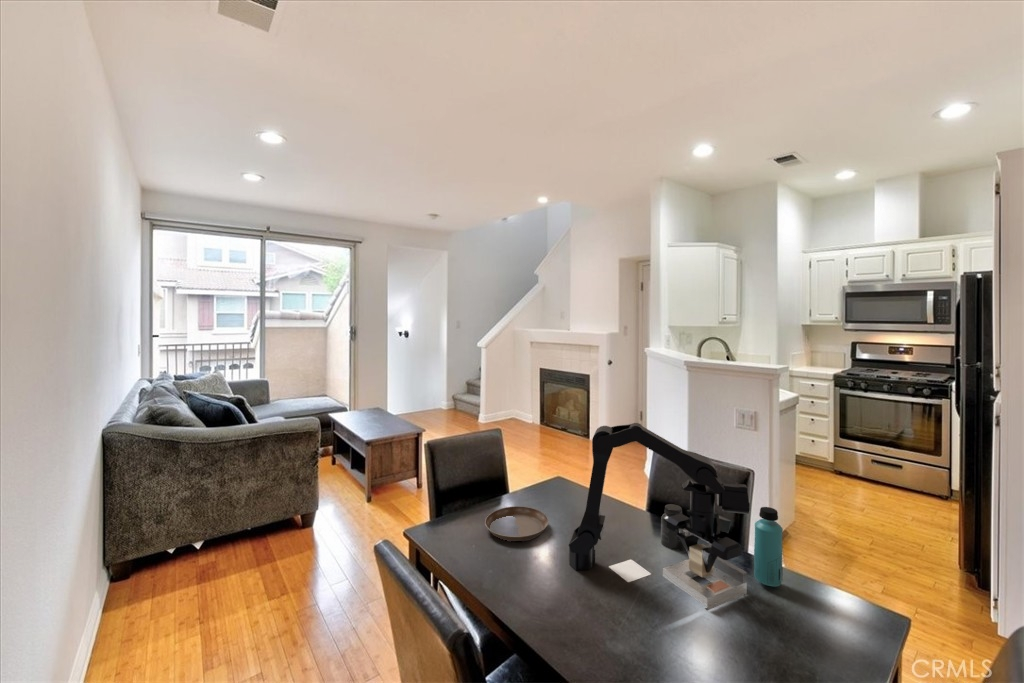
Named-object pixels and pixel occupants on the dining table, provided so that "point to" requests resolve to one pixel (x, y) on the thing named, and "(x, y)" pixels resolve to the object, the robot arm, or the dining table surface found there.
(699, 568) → the birch peg
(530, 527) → the plant saucer
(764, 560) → the beverage bottle
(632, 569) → the white square tile
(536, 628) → the dining table surface
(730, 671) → the dining table surface
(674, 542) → the supplement bottle
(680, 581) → the plate
